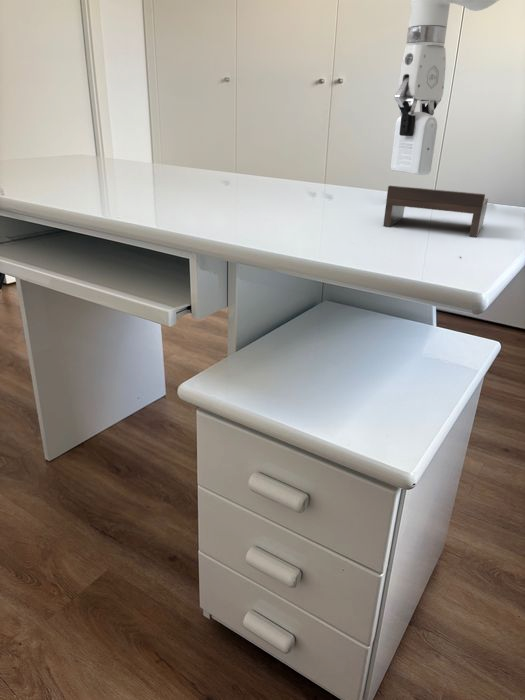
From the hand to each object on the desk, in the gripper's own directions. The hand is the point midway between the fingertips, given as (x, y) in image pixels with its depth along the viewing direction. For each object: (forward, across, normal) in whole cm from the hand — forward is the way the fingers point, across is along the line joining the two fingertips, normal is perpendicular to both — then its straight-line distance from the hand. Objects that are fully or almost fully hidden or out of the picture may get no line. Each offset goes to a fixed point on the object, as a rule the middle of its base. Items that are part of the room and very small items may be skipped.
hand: (414, 134), depth 116 cm
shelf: (+15, -17, -19) cm, 30 cm away
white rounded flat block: (+8, 0, 0) cm, 8 cm away
